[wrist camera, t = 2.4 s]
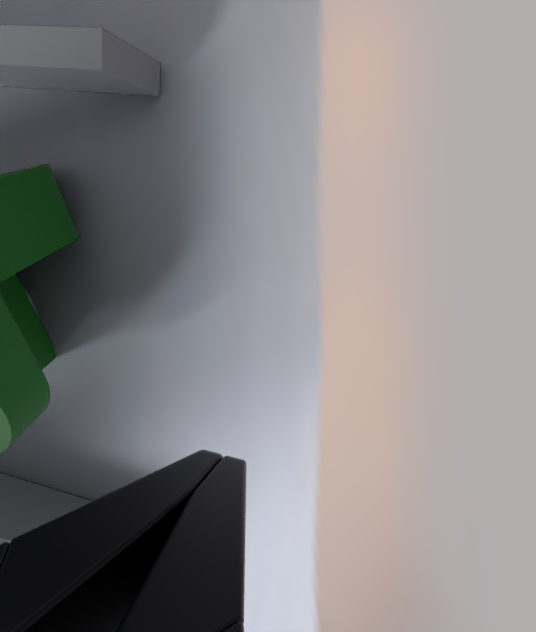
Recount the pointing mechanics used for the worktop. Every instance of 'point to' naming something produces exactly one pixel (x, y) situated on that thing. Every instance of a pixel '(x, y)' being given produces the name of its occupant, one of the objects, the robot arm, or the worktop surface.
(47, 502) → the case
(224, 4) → the worktop surface
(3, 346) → the green bracket
